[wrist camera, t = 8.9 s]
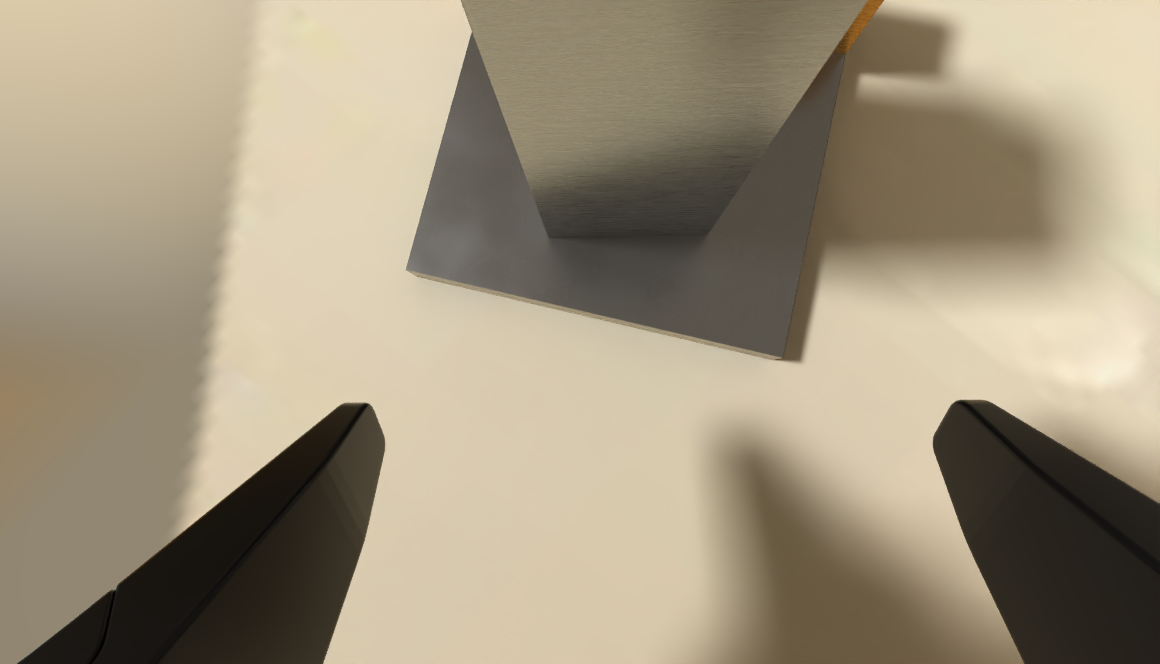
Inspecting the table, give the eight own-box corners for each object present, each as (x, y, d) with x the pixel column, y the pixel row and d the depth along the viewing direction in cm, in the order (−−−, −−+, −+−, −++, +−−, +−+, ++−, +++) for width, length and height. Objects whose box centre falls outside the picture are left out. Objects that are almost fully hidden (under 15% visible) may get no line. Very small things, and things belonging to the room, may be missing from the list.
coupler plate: (771, 359, 17) (824, 351, 13) (416, 276, 18) (362, 244, 14) (843, 18, 18) (911, -88, 14) (505, -46, 19) (479, -162, 15)
